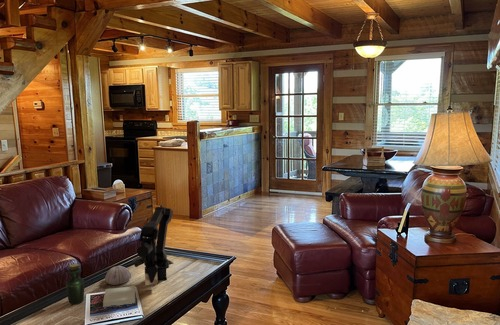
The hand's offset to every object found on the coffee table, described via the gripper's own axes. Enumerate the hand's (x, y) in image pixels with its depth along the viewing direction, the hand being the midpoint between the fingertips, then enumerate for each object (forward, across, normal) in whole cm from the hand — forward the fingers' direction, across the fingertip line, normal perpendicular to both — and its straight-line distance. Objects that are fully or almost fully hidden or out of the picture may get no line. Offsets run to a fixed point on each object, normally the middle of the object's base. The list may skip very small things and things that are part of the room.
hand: (151, 280), depth 197 cm
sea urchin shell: (+5, -16, -17) cm, 24 cm away
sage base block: (+5, +7, -15) cm, 17 cm away
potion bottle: (+5, +3, -35) cm, 35 cm away
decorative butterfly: (+6, -34, +7) cm, 35 cm away
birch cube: (+1, 0, 0) cm, 1 cm away
